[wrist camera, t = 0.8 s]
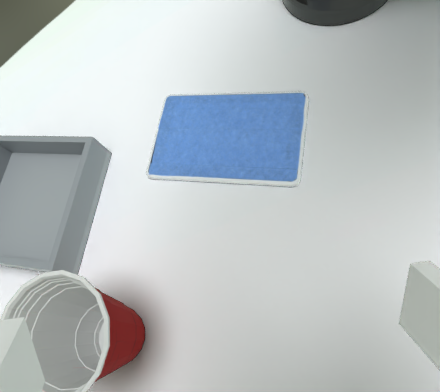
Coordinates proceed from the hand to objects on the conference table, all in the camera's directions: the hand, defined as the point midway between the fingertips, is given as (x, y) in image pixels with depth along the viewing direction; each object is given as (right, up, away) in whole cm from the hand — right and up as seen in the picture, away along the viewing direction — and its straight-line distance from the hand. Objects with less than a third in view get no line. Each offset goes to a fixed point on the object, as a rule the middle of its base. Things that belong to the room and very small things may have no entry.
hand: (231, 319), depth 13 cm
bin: (-24, +3, +36) cm, 44 cm away
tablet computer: (+1, +11, +33) cm, 35 cm away
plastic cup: (-11, -11, +27) cm, 32 cm away
